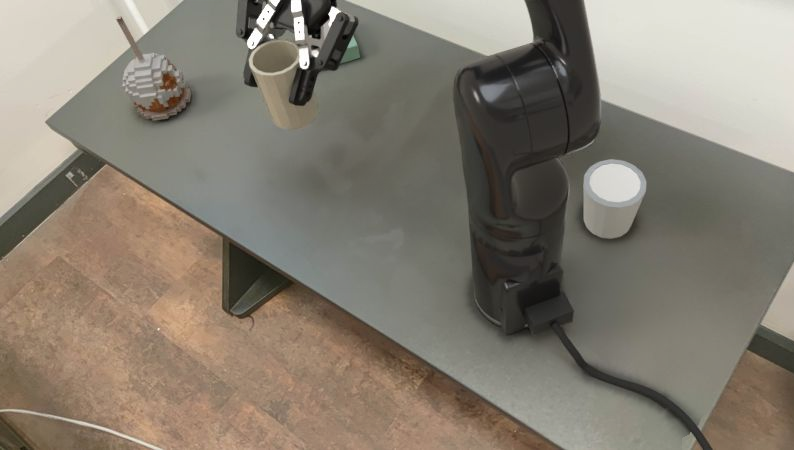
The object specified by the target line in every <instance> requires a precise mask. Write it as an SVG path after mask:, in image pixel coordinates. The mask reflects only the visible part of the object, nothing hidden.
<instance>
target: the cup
mask: <svg viewBox="0 0 794 450" xmlns="http://www.w3.org/2000/svg"><path fill="white" fill-rule="evenodd" d="M249 66H250V69H251V71H252V73H253V76H254V78H255V81H256V83H257V86H258V88H257V89H258V91H259V93H260V96H261V98H262V101H263V103H264V106H265V108H266V111H267V113H268V116H269V118H270V119H271V122H272V123H273V124H274V125H275V126H276V127H277V128H279V129H282V130H288V131H290V130H291V131H292V130H298V129H302V128H304V127H306V126H308V125H310V124H311V123H312V122H314V120H315V119H316V118H317V116H318V114H319V111H320V106H319V103H318V98H317V95H316V92H315V89H314V90H313V94H312V98H311V99H310V101H309V102H307V103H306V104H305V105H304V106H296V105H293V104H291V103H289V96H290V92H291V88H292V84H293V81H294V77H295V74H296V70H297V68H300V69H301V67H300V62H299V48H298V46H297V45H296V43H295V41H293V40H291V39H287V38H277V39H275V40H271V41H267V42H265V43H263V44H261V45H259V46H258V47H257V48H256V49H255V50H254V51H253V52H252V53H251V55H250V58H249Z"/></svg>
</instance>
